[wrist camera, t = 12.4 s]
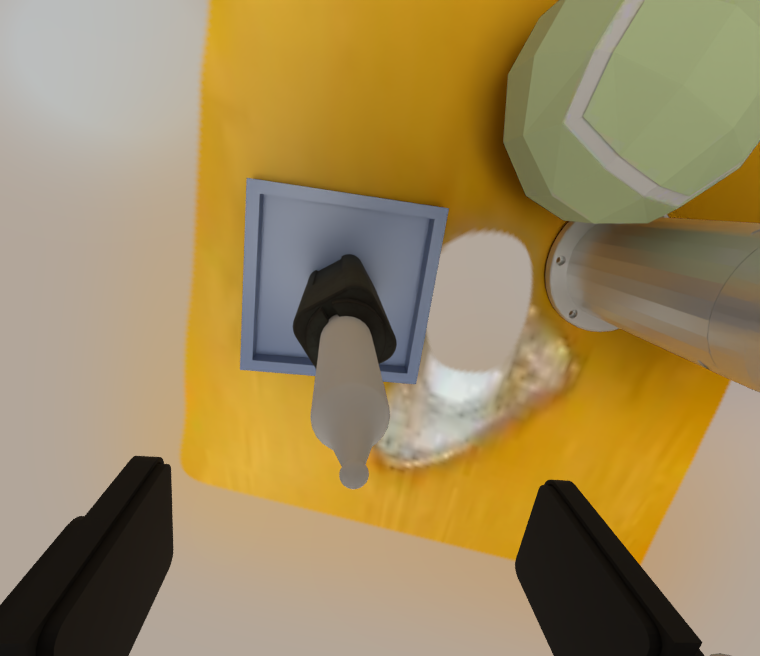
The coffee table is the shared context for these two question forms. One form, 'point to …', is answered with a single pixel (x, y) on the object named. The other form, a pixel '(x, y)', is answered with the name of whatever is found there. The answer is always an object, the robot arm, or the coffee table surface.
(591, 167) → the decorative sphere
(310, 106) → the coffee table surface
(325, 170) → the coffee table surface
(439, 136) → the coffee table surface
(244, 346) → the slate blue tray
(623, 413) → the coffee table surface
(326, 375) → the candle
